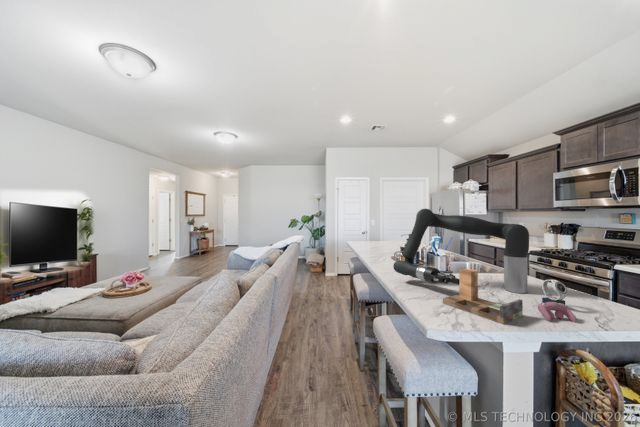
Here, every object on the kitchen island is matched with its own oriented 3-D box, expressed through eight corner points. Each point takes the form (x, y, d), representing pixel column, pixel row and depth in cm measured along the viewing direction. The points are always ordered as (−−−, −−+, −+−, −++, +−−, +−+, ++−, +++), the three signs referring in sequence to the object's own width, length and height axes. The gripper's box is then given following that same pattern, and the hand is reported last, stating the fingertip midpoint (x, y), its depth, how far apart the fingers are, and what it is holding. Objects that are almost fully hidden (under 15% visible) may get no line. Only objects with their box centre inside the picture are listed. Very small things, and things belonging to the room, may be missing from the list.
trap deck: (462, 297, 112) (462, 284, 112) (522, 315, 92) (522, 300, 92) (442, 303, 105) (442, 289, 105) (503, 324, 85) (503, 307, 85)
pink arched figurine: (568, 322, 89) (560, 302, 92) (579, 322, 85) (570, 301, 88) (539, 322, 90) (533, 302, 93) (549, 321, 86) (541, 300, 89)
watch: (558, 310, 96) (558, 283, 96) (538, 303, 104) (537, 277, 104) (571, 310, 97) (570, 282, 97) (549, 302, 105) (549, 277, 105)
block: (466, 295, 109) (466, 268, 109) (477, 298, 105) (477, 270, 105) (459, 297, 107) (459, 269, 107) (471, 300, 102) (471, 272, 102)
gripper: (418, 268, 121) (452, 275, 105) (436, 265, 127) (469, 272, 112) (418, 283, 121) (452, 293, 105) (436, 279, 127) (470, 288, 112)
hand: (461, 282), depth 109 cm, fingers closed
